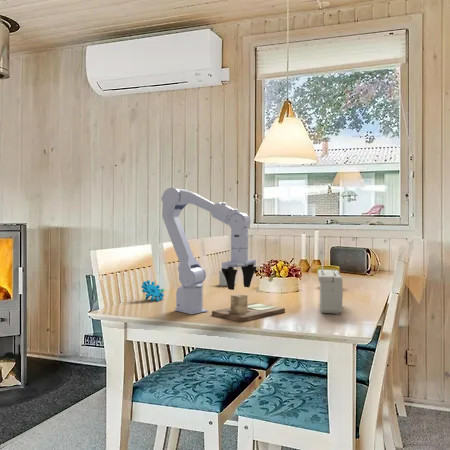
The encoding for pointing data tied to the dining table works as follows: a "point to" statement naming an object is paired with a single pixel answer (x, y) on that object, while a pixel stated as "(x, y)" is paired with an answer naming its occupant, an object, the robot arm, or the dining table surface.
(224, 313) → the pocket board
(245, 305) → the maple block
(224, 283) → the product box
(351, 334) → the dining table surface
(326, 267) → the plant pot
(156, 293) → the gear
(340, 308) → the stereo radio cassette player
